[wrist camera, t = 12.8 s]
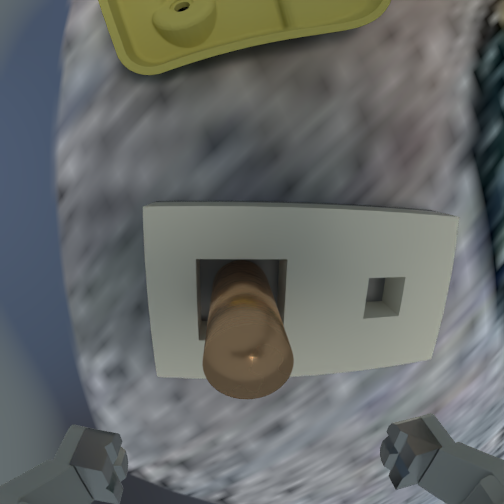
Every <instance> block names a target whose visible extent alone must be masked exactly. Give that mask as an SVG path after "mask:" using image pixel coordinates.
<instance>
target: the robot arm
mask: <svg viewBox="0 0 504 504" xmlns="http://www.w3.org/2000/svg"><path fill="white" fill-rule="evenodd" d="M387 434H388V435H389V436H388V437H386V438H385V439H384V440H383V441H382V444H381V447H380V457H381V461H382V463H383V465H384V467H386V468H388V469H390V473H389V477H390V479H391V481H392V483H393V485H394V487H395V489H396V490H398V489H401V488H405V487H408V486H411V485H415V484H418V485H419V486H421V487H422V488H424V489H425V490H427V491H428V492H430V493H431V494H433V495H434V496H436V497H437V498H439V499H440V500H442V501H443V502H445V503H447V504H504V460H502V459H500V458H497V457H494V456H492V455H489V454H487V453H484V452H482V451H479V450H477V449H475V448H472V447H470V446H467V445H465V444H463V443H460V442H457V443H455V442H454V440H453V439H452V438H451V437H450V435H449V434H448V433H447V431H446V430H445V429H444V427H443V426H442V425H441V423H440V422H439V421H438V420H437V418H436V417H435V416H434V415H433V414H431V413H430V414H427V415H423V416H419V417H415V418H411V419H407V420H403V421H399V422H395V423H392V424H391V425H390V426H389V427H388V429H387ZM121 444H122V439H121V437H120V434H118V433H113V432H107V431H102V430H97V429H92V428H87V427H81V426H77V425H72V426H71V427H69V429H68V431H67V433H66V435H65V437H64V439H63V441H62V443H61V445H60V447H59V449H58V451H57V453H56V455H55V457H54V459H53V460H50V459H49V460H47V461H45V462H43V463H42V464H40V465H38V466H36V467H34V468H33V469H31V470H29V471H27V472H25V473H23V474H22V475H20V476H18V477H16V478H14V479H12V480H10V481H9V482H7V483H5V484H3V485H1V486H0V504H91V503H92V502H93V500H98V501H103V502H108V503H114V504H119V503H120V499H121V495H122V491H123V487H122V485H121V481H122V480H123V479H125V478H126V476H127V471H128V458H127V454H126V451H125V450H124V449H123V448H122V447H121Z"/></svg>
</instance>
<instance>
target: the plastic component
mask: <svg viewBox="0 0 504 504" xmlns="http://www.w3.org/2000/svg"><path fill="white" fill-rule="evenodd" d="M98 1H99V4H100V7H101V10H102V13H103V16H104V19H105V22H106V25H107V28H108V30H109V33H110V36H111V39H112V42H113V45H114V47H115V50H116V53H117V56H118V58H119V59H120V61H121V62H122V64H123V65H124V66H125V67H127V68H128V69H129V70H131V71H133V72H135V73H138V74H142V75H155V74H161V73H163V72H166V71H169V70H172V69H175V68H178V67H181V66H184V65H187V64H190V63H193V62H196V61H199V60H203V59H206V58H209V57H213V56H216V55H220V54H224V53H227V52H231V51H235V50H239V49H243V48H248V47H252V46H256V45H261V44H266V43H271V42H276V41H281V40H287V39H292V38H299V37H305V36H312V35H318V34H325V33H332V32H338V31H344V30H349V29H353V28H358V27H361V26H363V25H366V24H368V23H370V22H372V21H374V20H376V19H377V18H378V17H380V16H381V15H382V14H383V13H384V12H385V10H386V9H387V7H388V6H389V4H390V2H391V0H98ZM183 7H189V8H188V9H186V10H184V11H181V12H177V11H178V10H179V9H181V8H183Z"/></svg>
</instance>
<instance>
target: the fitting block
mask: <svg viewBox="0 0 504 504" xmlns="http://www.w3.org/2000/svg"><path fill="white" fill-rule="evenodd" d="M458 224H459V217H457V216H453V215H449V214H444V213H440V212H436V211H432V210H422V209H409V208H396V207H382V206H366V205H348V204H328V203H303V202H269V201H156V202H153V203H151V204H148V205H146V206H143V232H144V253H145V269H146V283H147V295H148V306H149V316H150V326H151V334H152V343H153V350H154V358H155V365H156V372H157V377H168V378H194V379H207V378H206V376H205V374H204V371H203V365H202V364H203V353H204V345H205V338H206V330H207V323H208V316H209V309H210V302H211V295H212V288H213V282H214V278H215V276H216V274H217V272H218V271H219V270H220V269H221V268H222V267H223V266H224V265H226V264H227V263H230V262H232V261H237V260H246V261H250V262H253V263H255V264H256V265H258V266H259V267H260V268H261V269H262V270H263V271H264V273H265V274H266V276H267V279H268V282H269V285H270V288H271V291H272V293H273V296H274V299H275V302H276V305H277V308H278V311H279V314H280V317H281V320H282V323H283V326H284V329H285V332H286V334H287V337H288V340H289V343H290V346H291V349H292V352H293V357H294V365H293V369H292V372H291V375H290V376H289V377H297V376H311V375H323V374H334V373H343V372H352V371H361V370H368V369H376V368H383V367H390V366H396V365H402V364H408V363H414V362H419V361H425V360H430V359H431V358H432V354H433V351H434V347H435V344H436V340H437V337H438V333H439V329H440V325H441V321H442V317H443V313H444V308H445V304H446V299H447V294H448V289H449V284H450V279H451V273H452V268H453V262H454V255H455V248H456V241H457V233H458Z"/></svg>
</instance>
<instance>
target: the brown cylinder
mask: <svg viewBox="0 0 504 504" xmlns="http://www.w3.org/2000/svg"><path fill="white" fill-rule="evenodd" d="M202 365H203V371H204V374H205V376H206V378H207V380H208V381H209V383H210V384H211V385H212V386H213V387H214V388H215V389H216V390H218V391H219V392H221V393H223V394H225V395H227V396H230V397H233V398H238V399H255V398H260V397H264V396H266V395H269V394H271V393H273V392H275V391H276V390H278V389H279V388H280V387H281V386H282V385H283V384H284V383H285V382H286V381H287V380H288V378H289V376H290V375H291V372H292V369H293V365H294V357H293V352H292V349H291V346H290V343H289V340H288V337H287V334H286V332H285V329H284V326H283V323H282V320H281V317H280V314H279V311H278V308H277V305H276V302H275V299H274V296H273V293H272V291H271V288H270V285H269V282H268V279H267V276H266V274H265V273H264V271H263V270H262V269H261V268H260V267H259V266H258V265H256V264H255V263H253V262H250V261H246V260H237V261H232V262H230V263H227V264H226V265H224V266H223V267H222V268H221V269H220V270H219V271H218V272H217V274H216V276H215V278H214V282H213V288H212V295H211V302H210V309H209V316H208V323H207V330H206V338H205V345H204V353H203V364H202Z"/></svg>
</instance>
